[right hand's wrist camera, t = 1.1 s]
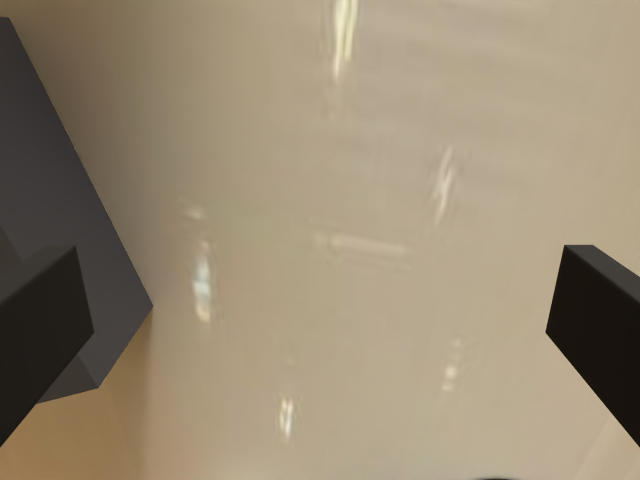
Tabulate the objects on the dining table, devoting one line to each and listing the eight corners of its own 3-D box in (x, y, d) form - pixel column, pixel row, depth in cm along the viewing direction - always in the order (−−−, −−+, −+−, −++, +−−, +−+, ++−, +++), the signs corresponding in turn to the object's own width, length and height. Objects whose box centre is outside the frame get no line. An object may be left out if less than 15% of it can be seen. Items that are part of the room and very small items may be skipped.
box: (153, 306, 39) (98, 388, 29) (86, 324, 39) (11, 411, 30) (8, 17, 30) (-135, -2, 21) (-73, 47, 31) (-248, 42, 21)
